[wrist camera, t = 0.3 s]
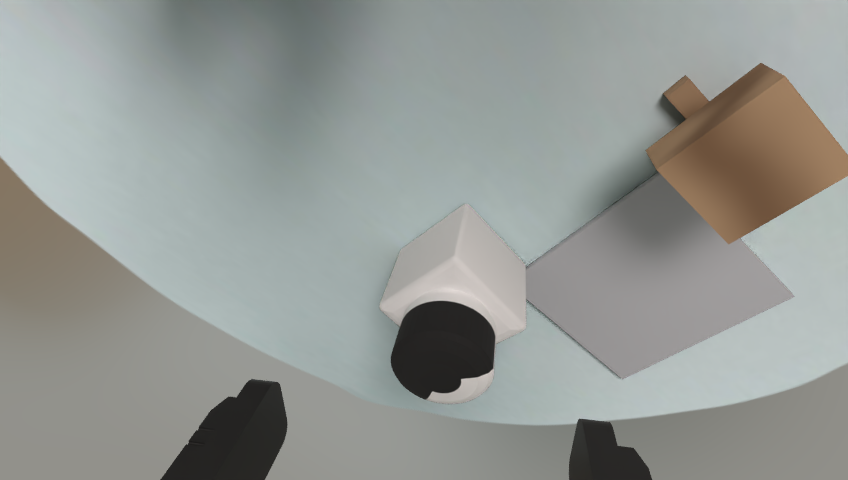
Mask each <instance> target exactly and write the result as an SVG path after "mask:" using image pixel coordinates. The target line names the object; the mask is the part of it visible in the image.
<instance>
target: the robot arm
mask: <svg viewBox="0 0 848 480" xmlns="http://www.w3.org/2000/svg"><path fill="white" fill-rule="evenodd" d="M286 432H287V417H286V412H285V407H284V402H283V397H282V392H281V387H280V384H279V383H278V382H272V381H263V380H255V379H251V380H249V381H248V382H247V383H246V385H245V386H244V387H243V389H242V390H241V392H240V393H239V395H238V396H237V398H235V397H228V398H226V399H225V400H224V401H222V402H221V403H220V404H218V405H217V406H216V407H215V408H214V409H212V410H211V411H210V412H209V414H208V415H207V416H206V418H205V419H204V421H203V422H202V423H201V425H200V426H199V429H198V431H196V432H195V433H194V434H193V436H192V437H191V439H190V440H189V443H188V445H185V447H184V448H183V450H182V451H181V452H180V454H179V455H178V456H177V458H176V459H175V461H174V462H173V463H172V465H171V466H170V467H169V469H168V470H167V472H166V473H165V474H164V476H163V477H162V479H161V480H265V478H266V476H267V474H268V472H269V470H270V468H271V466H272V464H273V462H274V460H275V459H276V457H277V454H278V453H279V451H280V448H281V447H282V444H283V442H284V440H285V436H286ZM569 480H652V478H651V475H650V471H649V468H648V467H647V466H646V464H645V463H644V462H643V460H642V459H641V457H640V456H639V455H638V453H637V452H636V451H635V449H634V448H629V447H621V446H617V442H616V438H615V434H614V430H613V427H612V425H611V423H610V422H604V421H595V420H587V419H579V420H578V422H577V427H576V431H575V436H574V441H573V446H572V451H571V455H570V462H569Z"/></svg>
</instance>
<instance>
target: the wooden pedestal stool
mask: <svg viewBox="0 0 848 480" xmlns="http://www.w3.org/2000/svg"><path fill="white" fill-rule="evenodd" d="M663 94H664V95H665V96H666V97H667V99H668V100H669V101H670V102H671V103H672V104H673V105H674V106H675V107H676V109H677V110H678V111H679V112H680V113H681V114H682V115H683V116H684V117H685V119H686V120H685V121H684V122H682V123H681V124H680V125H678V126H677V127H676V128H674V129H673V130H672V131H670V132H669V133H668V134H666V135H665V136H664V137H662V138H661V139H660V140H658V141H657V142H656V143H655V144H653V145H652V146H651V147H649V148H648V149H647V150H645V151H646V152H647V154H648V156H649V158H650V159H651V161H652V163H653V165H654V166H655V168H656V170H657V171H658V172H659V173H660V174H661V175H662V176H663V177H664V178H665V179H666V180H667V181H668V182H669V183H670V184H671V185H672V186H673V187H674V188H675V189H676V191H677V192H678V193H679V194H680V195H681V196H682V197H683V198H684V199H685V200H686V201H687V202H688V203H689V204H690V205H691V206H692V207H693V208H694V209H695V210H696V211H697V212H698V213H699V214H700V215H701V216H702V217H703V219H704V220H705V221H706V222H707V223H708V224H709V225H710V226H711V227H712V228H713V229H714V230H715V231H716V232H717V233H718V234H719V235H720V236H721V237H722V238H723V239H724V240H725V241H726V242H727V243H728V244H731V243H732V242H734V241H736V240H737V239H739V238H741V237H743V236H744V235H746V234H748V233H750V232H751V231H753V230H755V229H757V228H758V227H760V226H762V225H763V224H765V223H767V222H769V221H770V220H772V219H774V218H776V217H777V216H779V215H781V214H783V213H784V212H786V211H788V210H789V209H791V208H793V207H795V206H796V205H798V204H800V203H802V202H803V201H805V200H807V199H809V198H810V197H812V196H814V195H815V194H817V193H819V192H821V191H822V190H824V189H826V188H828V187H829V186H831V185H833V184H835V183H836V182H838V181H840V180H841V179H843V178H845V177H847V176H848V155H847V153H846V152H845V151H844V150H843V148H842V147H841V146H840V145H839V143H838V142H837V141H836V140H835V138H834V137H833V136H832V134H831V133H830V132H829V131H828V129H827V128H826V127H825V126H824V124H823V123H822V122H821V121H820V119H819V118H818V117H817V116H816V114H815V113H814V112H813V111H812V109H811V108H810V107H809V106H808V104H807V103H806V102H805V100H804V99H803V98H802V97H801V95H800V94H799V93H798V92H797V90H796V89H795V88H794V87H793V85H792V84H791V83H790V82H789V80H788V79H787V78H786V77H785V76H784V75H782V74H780V73H778V72H777V71H775V70H773V69H771V68H769V67H767V66H766V65H764V64H762V63H760V64H759V65H757V66H756V67H755V68H753V69H752V70H751V71H749V72H748V73H747V74H745V75H744V76H743V77H741V78H740V79H739V80H738V81H736V82H735V83H734V84H732V85H731V86H730V87H728V88H727V89H726V90H724V91H723V92H722V93H720V94H719V95H718V96H716V97H715V98H714V99H713V100H711V101H710V102H709V101H708V100H707V99H706V97H705V96H704V95H703V94H702V93H701V92H700V91H699V89H698V88H697V87H696V86H695V85H694V84H693V82H692V81H691V80H690V79H689V78H688V77H687V76H684V77H683V78H681V79H680V80H679V81H678V82H676V83H675V84H674V85H673V86H672V87H670V88H669V89H668V90H667V91H665V92H664V93H663Z"/></svg>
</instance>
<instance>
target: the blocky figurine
mask: <svg viewBox="0 0 848 480" xmlns="http://www.w3.org/2000/svg"><path fill="white" fill-rule="evenodd" d="M379 308H380V310H381V311H382V312H383V313H384V314H386V315H387V316H388V317H389V318H390V319H391V320H392V321H394V322H395V323H396V324H397V325H398V326H399V327H400V329H399V332H398V335H397V338H396V342H395V345H394V348H393V351H392V355H391V366H392V369H393V371H394V373H395V375H396V377H397V378H398V380H399V381H400V383H401V384H402V385H403V386H404V387H405V388H406V389H408V390H409V391H410V392H412V393H413V394H415V395H417V396H418V397H420V398H423V399H425V400H428V401H431V402H436V403H442V404H458V403H464V402H468V401H470V400H473V399H475V398H476V397H478V396H480V395H481V394H482V393H484V392H485V391H486V390H487V389H488V388H489V386H490V385H491V383H492V380H493V376H494V363H495V348H496V344H497V343H499V342H502V341H504V340H506V339H508V338H510V337H512V336H514V335H516V334H518V333H520V332H522V331H524V330H525V328H526V266H525V264H524V262H523V261H522V260H521V259H520V258H519V257H518V256H517V255H516V254H515V253H514V252H513V251H512V250H511V249H510V248H509V246H508V245H507V244H506V243H505V242H504V241H503V240H502V239H501V238H500V237H499V236H498V235H497V234H496V233H495V232H494V230H493V229H492V228H491V227H490V226H489V225H488V224H487V223H486V222H485V221H484V220H483V219H482V218H481V217H480V216H479V214H478V213H477V212H476V211H475V210H474V209H473V208H472V207H471V206H470V205H469V204H463V205H462V206H461V207H459V208H458V209H456V210H455V211H454V212H452V213H451V214H449V215H448V216H447V217H445V218H444V219H442V220H441V221H440V222H438V223H437V224H435V225H434V226H433V227H431V228H430V229H429V230H427V231H426V232H424V233H423V234H422V235H420V236H419V237H417V238H416V239H415V240H413V241H412V242H410V243H409V244H408V245H406V246H405V247H403V248H402V249H401V250H400V252H399V255H398V258H397V260H396V263H395V265H394V268H393V271H392V273H391V276H390V278H389V281H388V284H387V286H386V289H385V291H384V294H383V297H382V299H381V302H380V305H379Z"/></svg>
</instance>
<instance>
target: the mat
mask: <svg viewBox="0 0 848 480" xmlns="http://www.w3.org/2000/svg"><path fill="white" fill-rule="evenodd" d="M793 297H794V295H793V294H792V293H791V292H790V291H789V290H788V289H787V287H786V286H785V285H784V284H783V283H782V282H781V281H780V280H779V279H778V278H777V277H776V276H775V275H774V274H773V273H772V272H771V271H770V270H769V268H768V267H767V266H766V265H765V264H764V263H763V262H762V261H761V260H760V259H759V258H758V257H757V256H756V255H755V254H754V253H753V252H752V251H751V249H750V248H749V247H748V246H747V245H746V244H745V243H744V242H743V241H742V240H741V239H740V238H739V239H737V240H736V241H734V242H732V243H731V244H728V243H727V242H726V241H725V240H724V239H723V238H722V237H721V236H720V235H719V234H718V233H717V232H716V231H715V230H714V229H713V228H712V227H711V226H710V225H709V224H708V223H707V222H706V221H705V220H704V219H703V217H702V216H701V215H700V214H699V213H698V212H697V211H696V210H695V209H694V208H693V207H692V206H691V205H690V204H689V203H688V202H687V201H686V200H685V199H684V198H683V197H682V196H681V195H680V194H679V193H678V192H677V191H676V189H675V188H674V187H673V186H672V185H671V184H670V183H669V182H668V181H667V180H666V179H665V178H664V177H663V176H662V175H661V174H660V173H659V172H658V173H656V174H655V175H654V176H652V177H651V178H649V179H648V180H647V181H645V182H644V183H642V184H641V185H640V186H638V187H637V188H635V189H634V190H633V191H631V192H630V193H629V194H627V195H626V196H624V197H623V198H622V199H620V200H619V201H617V202H616V203H615V204H613V205H612V206H610V207H609V208H608V209H606V210H605V211H604V212H602V213H601V214H599V215H598V216H597V217H595V218H594V219H592V220H591V221H590V222H588V223H587V224H585V225H584V226H583V227H581V228H580V229H578V230H577V231H576V232H574V233H573V234H572V235H570V236H569V237H567V238H566V239H565V240H563V241H562V242H560V243H559V244H558V245H556V246H555V247H553V248H552V249H551V250H549V251H548V252H546V253H545V254H544V255H542V256H541V257H540V258H538V259H537V260H535V261H534V262H533V263H531V264H530V265H528V266H527V267H526V299H527V300H528V301H529V302H530V303H532V304H533V305H534V306H535V307H536V308H538V309H539V310H540V311H541V312H542V313H544V314H545V315H546V316H547V317H548V318H550V319H551V320H552V321H553V322H554V323H556V324H557V325H558V326H559V327H560V328H562V329H563V330H564V331H565V332H566V333H568V334H569V335H570V336H571V337H572V338H574V339H575V340H576V341H577V342H578V343H580V344H581V345H582V346H583V347H584V348H586V349H587V350H588V351H589V352H590V353H592V354H593V355H594V356H595V357H596V358H598V359H599V360H600V361H601V362H602V363H604V364H605V365H606V366H607V367H608V368H610V369H611V370H612V371H613V372H615V373H616V374H617V375H618V376H619V377H621V378H622V379H624V378H626V377H628V376H630V375H632V374H635V373H637V372H639V371H641V370H643V369H645V368H647V367H649V366H651V365H653V364H655V363H657V362H660V361H662V360H664V359H666V358H668V357H670V356H672V355H674V354H676V353H678V352H680V351H682V350H685V349H687V348H689V347H691V346H693V345H695V344H697V343H699V342H701V341H703V340H705V339H707V338H710V337H712V336H714V335H716V334H718V333H720V332H722V331H724V330H726V329H728V328H730V327H732V326H735V325H737V324H739V323H741V322H743V321H745V320H747V319H749V318H751V317H753V316H755V315H757V314H759V313H762V312H764V311H766V310H768V309H770V308H772V307H774V306H776V305H778V304H780V303H782V302H784V301H787V300H789V299H791V298H793Z"/></svg>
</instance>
